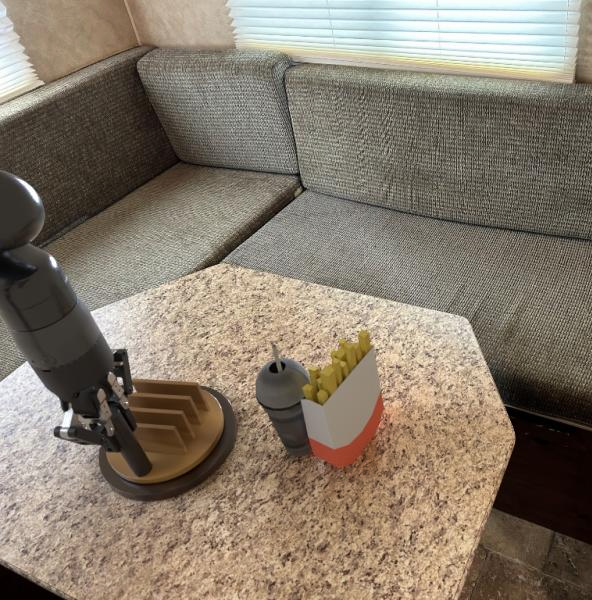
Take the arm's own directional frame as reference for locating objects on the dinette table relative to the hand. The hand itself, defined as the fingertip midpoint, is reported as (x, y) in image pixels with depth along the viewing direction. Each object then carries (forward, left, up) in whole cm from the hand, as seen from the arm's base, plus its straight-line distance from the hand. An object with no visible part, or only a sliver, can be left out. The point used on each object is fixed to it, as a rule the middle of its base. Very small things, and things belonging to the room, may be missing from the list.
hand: (123, 439), depth 76 cm
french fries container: (+23, -15, -10) cm, 29 cm away
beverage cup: (+18, -10, -10) cm, 23 cm away
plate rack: (+5, +4, -8) cm, 10 cm away
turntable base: (+5, +4, -9) cm, 11 cm away
